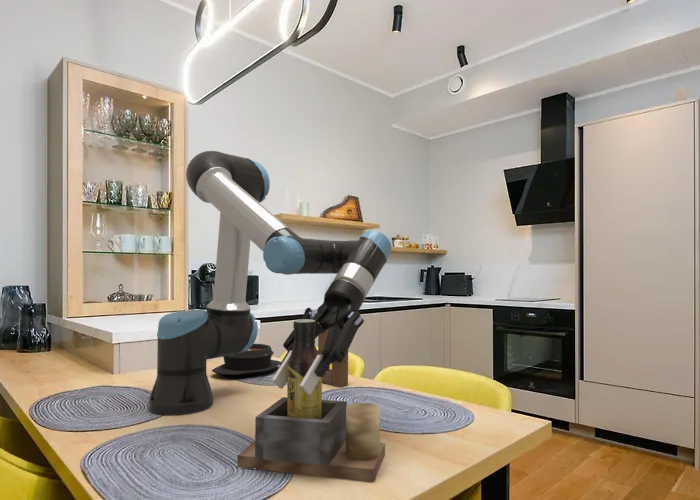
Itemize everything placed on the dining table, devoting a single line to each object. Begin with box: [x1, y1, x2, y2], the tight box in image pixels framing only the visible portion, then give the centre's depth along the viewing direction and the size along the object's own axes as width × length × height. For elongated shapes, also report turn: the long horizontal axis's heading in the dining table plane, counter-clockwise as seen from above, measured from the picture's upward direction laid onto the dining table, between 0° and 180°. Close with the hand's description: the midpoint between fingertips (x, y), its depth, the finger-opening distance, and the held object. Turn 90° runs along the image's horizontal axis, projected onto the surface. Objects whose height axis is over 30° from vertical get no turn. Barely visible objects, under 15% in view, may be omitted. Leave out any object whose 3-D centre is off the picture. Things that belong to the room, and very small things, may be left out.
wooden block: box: [317, 324, 349, 388], centre depth 143 cm, size 4×11×18 cm, turn 47°
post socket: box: [236, 396, 386, 483], centre depth 86 cm, size 24×13×10 cm, turn 77°
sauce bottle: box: [286, 318, 323, 419], centre depth 86 cm, size 6×6×20 cm
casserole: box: [211, 343, 282, 376], centre depth 158 cm, size 25×19×8 cm
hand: (290, 387), depth 84 cm, fingers closed on sauce bottle, 6 cm apart
